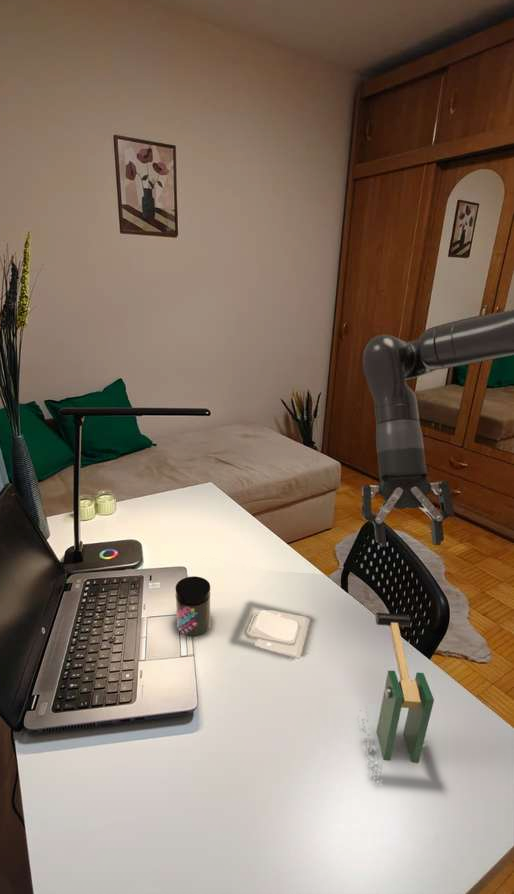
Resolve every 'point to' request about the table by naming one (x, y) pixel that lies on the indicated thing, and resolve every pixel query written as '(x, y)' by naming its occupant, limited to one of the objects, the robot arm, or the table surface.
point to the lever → (401, 657)
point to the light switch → (279, 632)
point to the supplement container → (193, 606)
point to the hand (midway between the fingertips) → (409, 545)
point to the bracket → (414, 721)
